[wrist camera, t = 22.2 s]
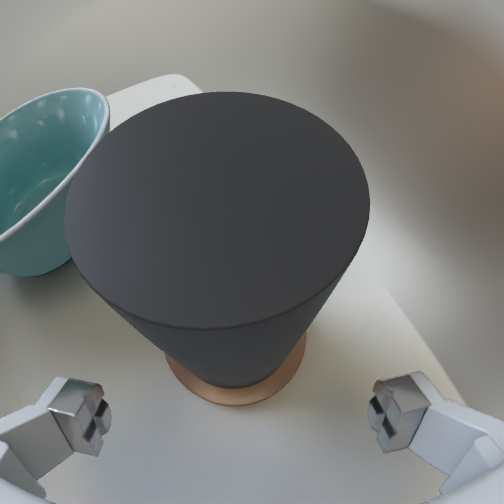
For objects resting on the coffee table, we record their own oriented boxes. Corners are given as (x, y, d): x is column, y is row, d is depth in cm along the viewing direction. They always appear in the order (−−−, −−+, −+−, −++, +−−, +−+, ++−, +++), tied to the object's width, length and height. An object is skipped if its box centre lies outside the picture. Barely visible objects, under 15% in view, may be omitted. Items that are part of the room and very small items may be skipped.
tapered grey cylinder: (269, 267, 18) (296, 80, 8) (306, 368, 15) (427, 264, 5) (165, 294, 17) (79, 125, 7) (191, 401, 14) (63, 366, 4)
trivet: (329, 331, 17) (333, 327, 16) (238, 433, 14) (238, 435, 13) (231, 253, 20) (231, 245, 19) (140, 338, 17) (135, 333, 16)
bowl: (152, 146, 25) (133, 68, 18) (125, 314, 17) (58, 246, 10) (23, 170, 24) (-9, 114, 17) (-25, 307, 17) (-88, 260, 9)
